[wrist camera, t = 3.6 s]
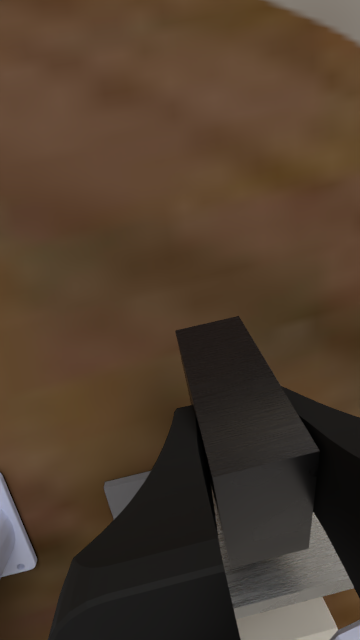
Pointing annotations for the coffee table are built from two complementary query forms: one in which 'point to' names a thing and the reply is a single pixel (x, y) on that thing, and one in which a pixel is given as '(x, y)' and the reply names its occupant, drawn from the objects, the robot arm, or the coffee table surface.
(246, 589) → the mounted block
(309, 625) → the cream rectangular block
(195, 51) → the coffee table surface
